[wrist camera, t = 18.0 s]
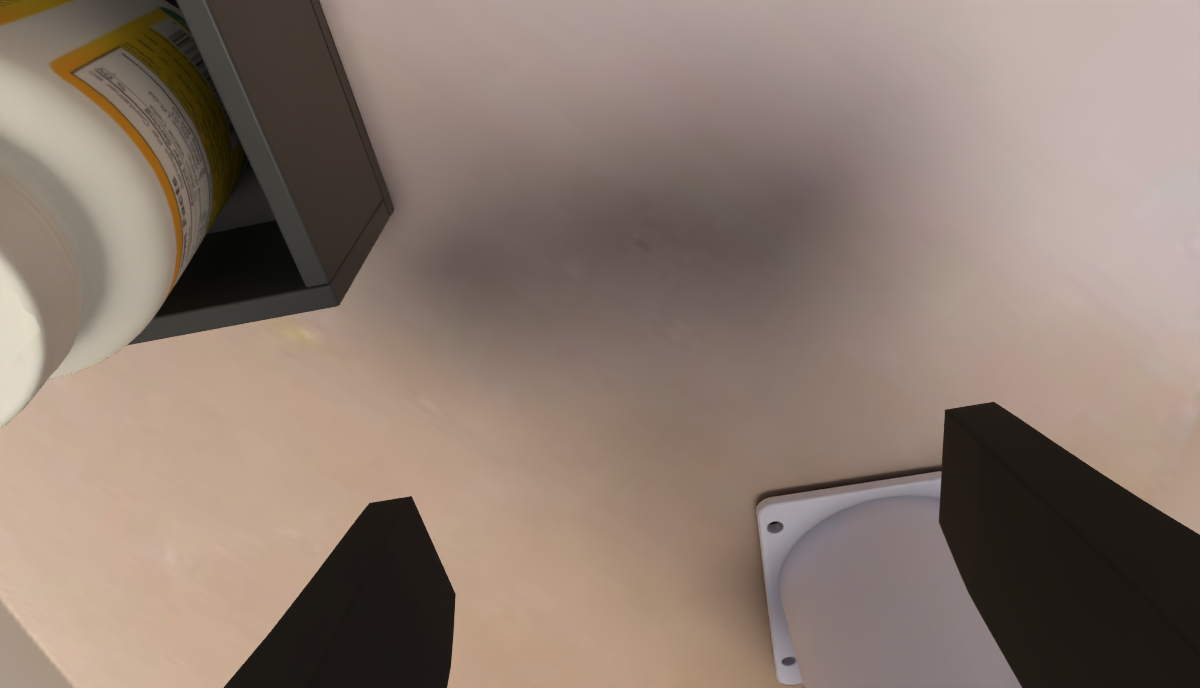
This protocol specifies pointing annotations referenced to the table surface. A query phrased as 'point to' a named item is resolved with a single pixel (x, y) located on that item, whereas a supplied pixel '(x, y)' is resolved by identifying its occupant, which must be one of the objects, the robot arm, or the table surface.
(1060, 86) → the table surface
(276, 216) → the open black bin
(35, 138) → the supplement bottle
